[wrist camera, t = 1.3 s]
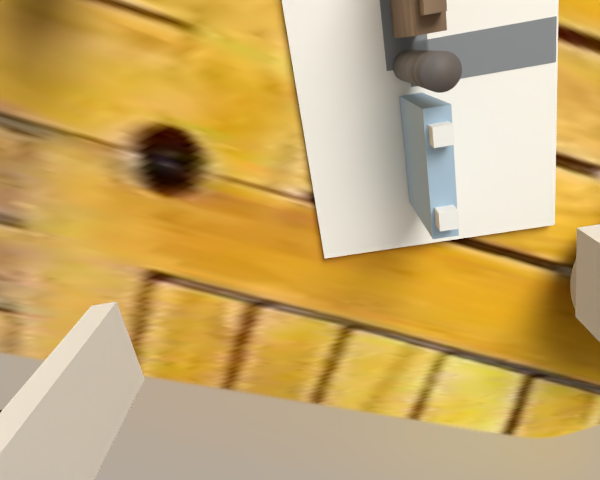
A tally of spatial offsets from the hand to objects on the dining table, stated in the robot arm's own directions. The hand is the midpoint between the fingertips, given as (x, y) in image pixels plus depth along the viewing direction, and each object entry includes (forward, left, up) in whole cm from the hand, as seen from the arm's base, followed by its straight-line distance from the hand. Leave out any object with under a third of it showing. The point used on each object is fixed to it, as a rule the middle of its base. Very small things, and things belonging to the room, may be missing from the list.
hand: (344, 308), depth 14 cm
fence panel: (+6, 0, -20) cm, 21 cm away
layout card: (+7, +3, -21) cm, 22 cm away
